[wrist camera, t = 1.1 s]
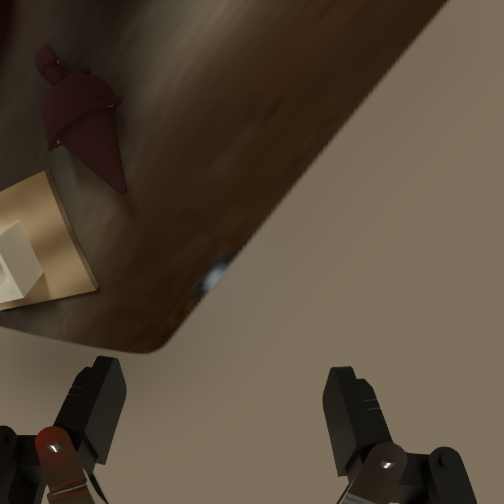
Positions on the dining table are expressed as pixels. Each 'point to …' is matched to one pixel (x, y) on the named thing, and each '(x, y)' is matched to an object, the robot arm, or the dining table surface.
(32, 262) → the white square box
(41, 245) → the wooden board
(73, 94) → the icecream
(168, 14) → the dining table surface
